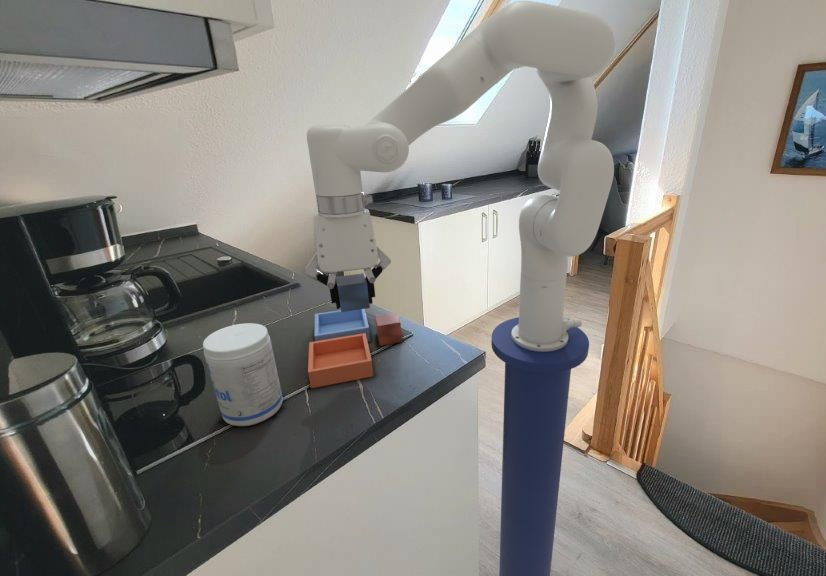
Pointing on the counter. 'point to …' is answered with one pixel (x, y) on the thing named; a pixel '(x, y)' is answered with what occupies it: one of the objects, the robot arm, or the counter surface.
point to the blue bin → (341, 324)
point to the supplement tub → (243, 373)
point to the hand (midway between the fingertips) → (354, 302)
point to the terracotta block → (388, 329)
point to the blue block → (353, 292)
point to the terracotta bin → (339, 360)
